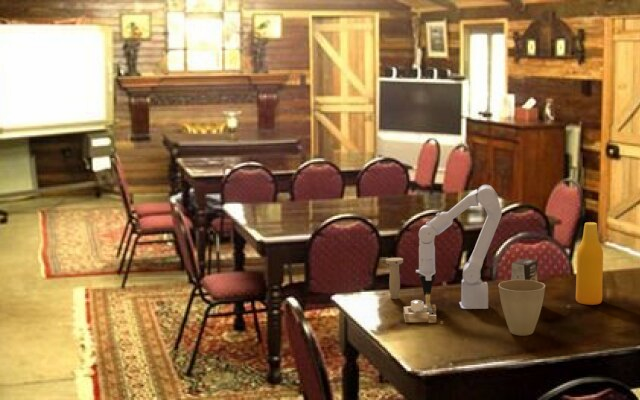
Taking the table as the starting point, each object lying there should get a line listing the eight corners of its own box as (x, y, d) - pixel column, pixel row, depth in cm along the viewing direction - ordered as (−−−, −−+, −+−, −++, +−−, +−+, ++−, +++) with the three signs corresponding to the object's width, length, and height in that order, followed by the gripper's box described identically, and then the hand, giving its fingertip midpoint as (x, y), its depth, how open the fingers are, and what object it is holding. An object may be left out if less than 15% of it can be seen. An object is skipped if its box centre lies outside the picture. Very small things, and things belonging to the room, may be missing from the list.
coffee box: (526, 309, 332) (527, 264, 329) (510, 306, 336) (510, 262, 333) (537, 303, 339) (538, 259, 336) (521, 300, 343) (521, 257, 340)
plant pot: (527, 323, 315) (528, 277, 313) (553, 335, 301) (554, 287, 299) (489, 328, 310) (489, 282, 307) (513, 341, 296) (514, 293, 294)
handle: (404, 299, 348) (404, 260, 345) (388, 300, 346) (387, 261, 344) (401, 296, 352) (400, 257, 350) (384, 297, 351) (384, 258, 349)
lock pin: (429, 305, 337) (429, 292, 336) (432, 313, 326) (432, 301, 325) (425, 305, 337) (425, 292, 336) (428, 313, 326) (428, 301, 325)
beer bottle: (574, 303, 337) (576, 225, 332) (577, 297, 345) (579, 220, 341) (600, 306, 333) (603, 226, 329) (603, 299, 342) (605, 221, 337)
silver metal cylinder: (426, 316, 325) (426, 300, 323) (422, 321, 320) (422, 304, 319) (412, 315, 327) (412, 299, 325) (408, 320, 322) (407, 303, 321)
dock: (435, 310, 332) (435, 302, 332) (438, 322, 318) (438, 314, 318) (402, 311, 332) (402, 303, 332) (405, 322, 319) (405, 314, 318)
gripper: (414, 254, 344) (414, 289, 346) (417, 263, 329) (417, 300, 332) (433, 253, 343) (433, 289, 346) (437, 263, 329) (437, 300, 331)
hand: (427, 295), depth 339 cm, fingers closed
